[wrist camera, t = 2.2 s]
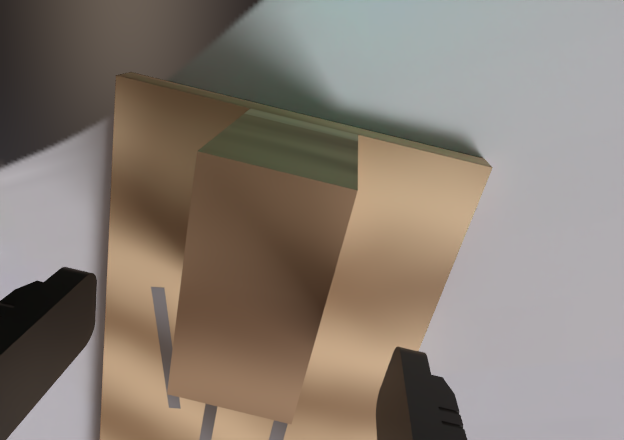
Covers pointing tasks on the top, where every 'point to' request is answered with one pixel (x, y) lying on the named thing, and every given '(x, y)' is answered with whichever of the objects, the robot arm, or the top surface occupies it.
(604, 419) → the top surface
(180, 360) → the block
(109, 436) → the board
